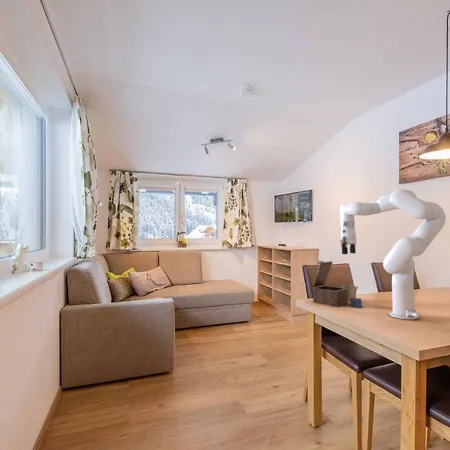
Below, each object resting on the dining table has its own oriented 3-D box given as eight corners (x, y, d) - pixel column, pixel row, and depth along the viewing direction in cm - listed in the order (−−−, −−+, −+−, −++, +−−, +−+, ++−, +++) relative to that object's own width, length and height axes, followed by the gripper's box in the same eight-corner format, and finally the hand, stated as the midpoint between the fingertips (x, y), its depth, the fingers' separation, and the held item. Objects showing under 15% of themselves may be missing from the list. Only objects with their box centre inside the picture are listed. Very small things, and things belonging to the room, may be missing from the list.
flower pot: (360, 301, 187) (360, 287, 187) (345, 301, 187) (345, 287, 187) (354, 298, 196) (354, 285, 196) (339, 298, 196) (339, 285, 197)
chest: (347, 303, 183) (347, 288, 184) (337, 306, 175) (336, 291, 175) (324, 299, 195) (323, 285, 196) (313, 302, 187) (312, 287, 187)
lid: (332, 261, 191) (325, 258, 195) (321, 263, 183) (314, 259, 186) (324, 284, 195) (317, 280, 199) (313, 287, 187) (306, 283, 191)
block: (361, 306, 175) (361, 298, 175) (358, 307, 172) (357, 299, 172) (354, 305, 178) (353, 297, 178) (350, 306, 175) (350, 298, 175)
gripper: (346, 224, 170) (348, 254, 170) (360, 224, 182) (361, 253, 181) (334, 224, 176) (335, 254, 175) (348, 225, 187) (349, 252, 187)
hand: (348, 253), depth 178 cm, fingers open, 9 cm apart
